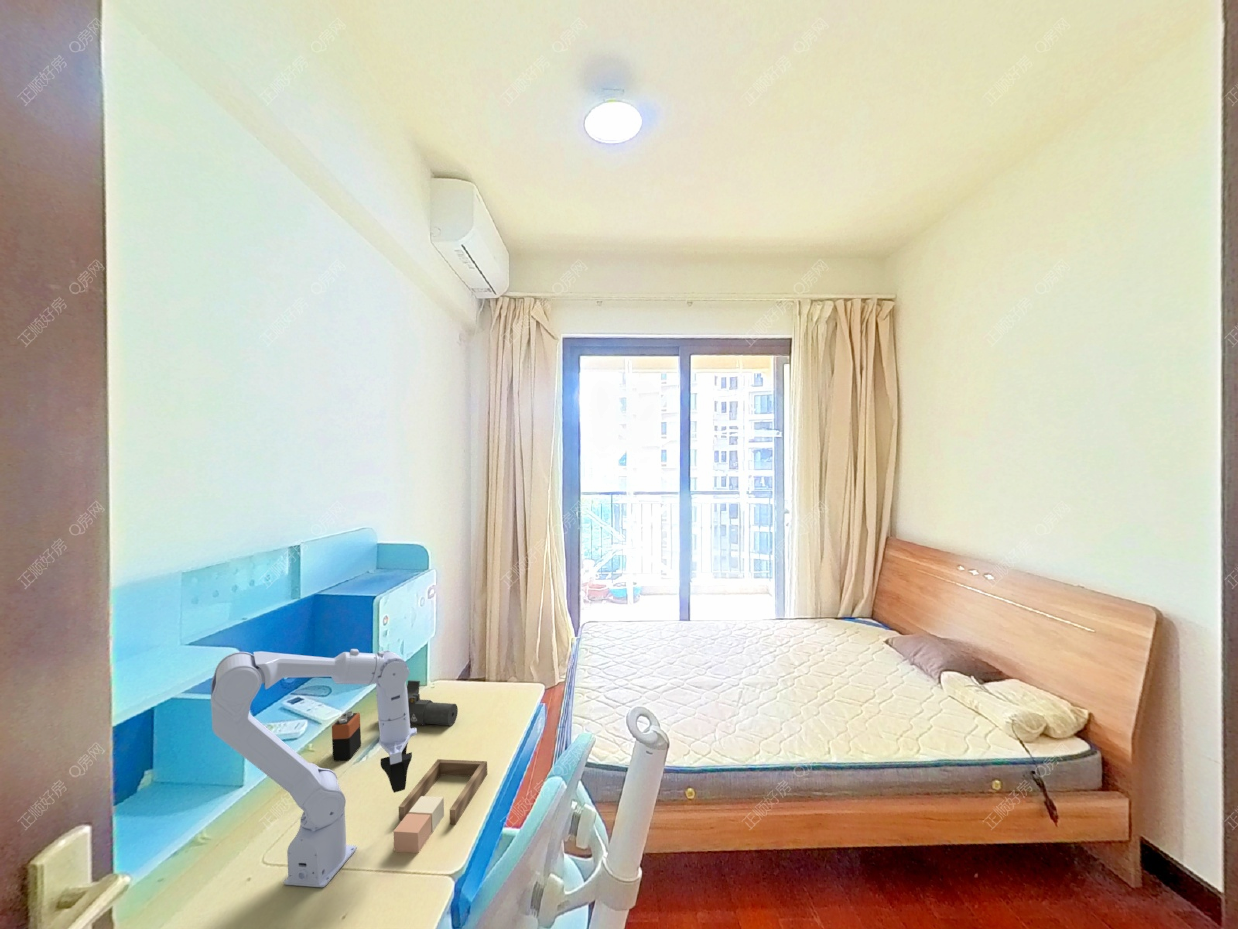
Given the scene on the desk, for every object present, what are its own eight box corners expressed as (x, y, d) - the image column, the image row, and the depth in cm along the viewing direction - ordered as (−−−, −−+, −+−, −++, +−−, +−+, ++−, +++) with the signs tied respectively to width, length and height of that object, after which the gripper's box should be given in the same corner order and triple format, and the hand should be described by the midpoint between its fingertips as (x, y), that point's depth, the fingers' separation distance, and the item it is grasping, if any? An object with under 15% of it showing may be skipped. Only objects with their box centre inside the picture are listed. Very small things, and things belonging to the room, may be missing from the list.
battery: (332, 762, 131) (330, 722, 131) (345, 747, 138) (343, 709, 138) (349, 760, 131) (348, 721, 131) (361, 746, 138) (360, 708, 138)
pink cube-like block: (418, 853, 99) (417, 833, 99) (394, 852, 100) (393, 831, 100) (431, 834, 104) (430, 815, 104) (408, 833, 105) (407, 813, 104)
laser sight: (444, 734, 143) (443, 698, 143) (371, 729, 147) (370, 694, 147) (461, 716, 153) (460, 683, 152) (392, 712, 157) (391, 679, 157)
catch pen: (455, 824, 106) (455, 810, 106) (399, 821, 108) (398, 806, 108) (487, 774, 123) (487, 761, 123) (438, 771, 125) (437, 759, 125)
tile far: (432, 833, 104) (432, 813, 104) (409, 831, 105) (408, 812, 105) (444, 816, 109) (443, 797, 109) (421, 814, 110) (421, 796, 110)
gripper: (415, 725, 100) (421, 793, 100) (413, 694, 113) (419, 754, 114) (375, 735, 97) (381, 806, 98) (378, 702, 110) (383, 764, 111)
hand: (399, 779), depth 105 cm, fingers open, 7 cm apart
